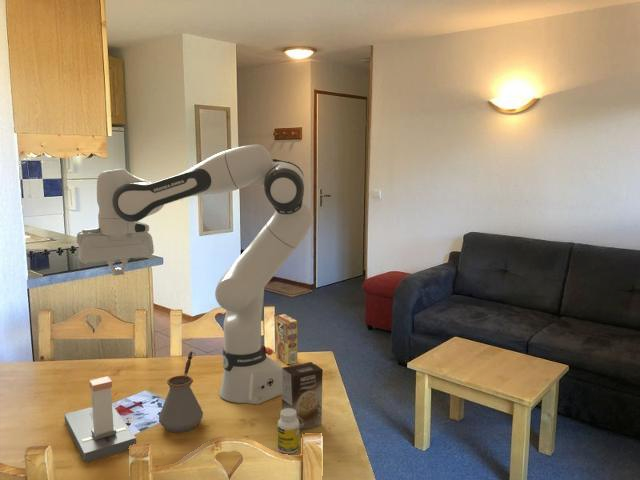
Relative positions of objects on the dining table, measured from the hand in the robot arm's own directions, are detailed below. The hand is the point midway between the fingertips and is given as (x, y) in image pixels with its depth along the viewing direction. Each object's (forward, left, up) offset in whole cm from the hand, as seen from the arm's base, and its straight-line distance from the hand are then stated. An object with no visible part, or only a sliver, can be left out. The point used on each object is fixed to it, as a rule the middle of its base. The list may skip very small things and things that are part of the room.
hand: (118, 274), depth 157 cm
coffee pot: (-10, +22, -37) cm, 44 cm away
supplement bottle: (-25, +52, -37) cm, 69 cm away
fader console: (+12, +18, -37) cm, 43 cm away
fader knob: (+12, +24, -34) cm, 43 cm away
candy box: (-54, +4, -37) cm, 66 cm away
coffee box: (-34, +44, -37) cm, 67 cm away
